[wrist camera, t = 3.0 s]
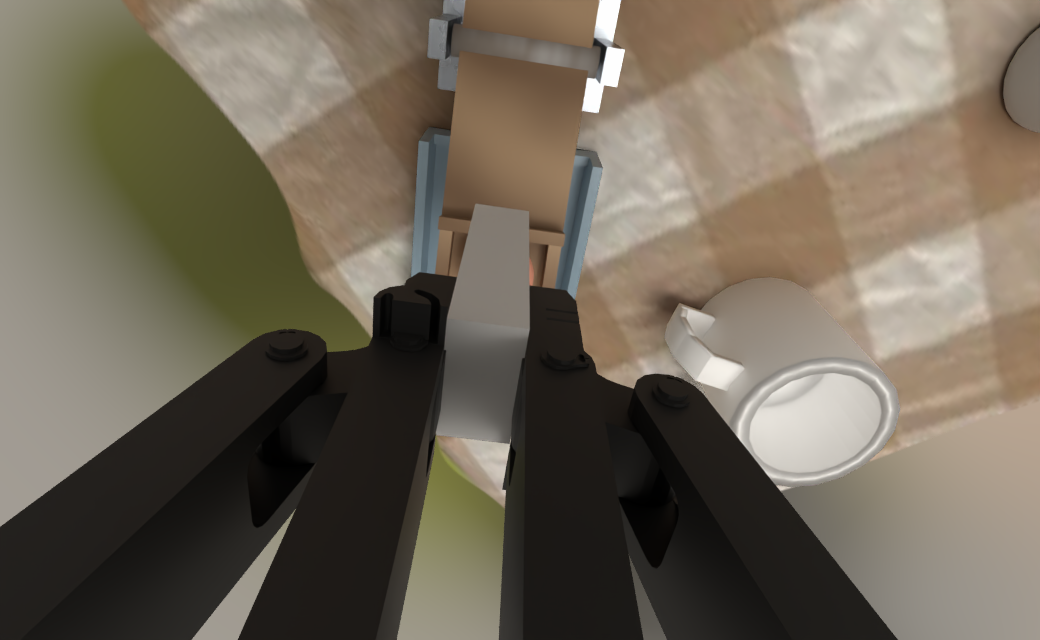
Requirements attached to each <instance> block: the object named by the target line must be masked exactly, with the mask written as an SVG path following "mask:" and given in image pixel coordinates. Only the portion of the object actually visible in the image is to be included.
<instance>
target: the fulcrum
mask: <svg viewBox="0 0 1040 640" xmlns="http://www.w3.org/2000/svg"><path fill="white" fill-rule="evenodd" d="M620 2H621V0H600V1H599V7H598V14H597V20H596V26H595V33H594V39H593V45H592V46H598V47H600V48H601V51H600V60H599V65H598V70H597V74H596V77H595V79H592V78H587V83H586V90H585V96H584V102H583V109H582V111H587V112H594V113H598V112H599V107H600V102H601V97H602V92H603V87H604V85H606V86H612V87H617V84H618V79H619V75H620V70H621V65H622V61H623V56H624V51H625V50H624V49H623V48H621V47H620V46H618V45H616V44H615V43H613V37H614V32H615V27H616V22H617V17H618V12H619V7H620ZM464 8H465V0H444V3H443V15H440V16H437V17H433V18H430V22H429V38H428V55H427V58H434V59H440V61H439V75H438V89H444V90H451V91H455V89H456V80H457V71H458V62H459V58H458V57H452V56H451V41H452V32H453V26H454V24H461V25H463V17H464Z"/></svg>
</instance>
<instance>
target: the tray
mask: <svg viewBox="0 0 1040 640" xmlns="http://www.w3.org/2000/svg"><path fill="white" fill-rule="evenodd" d="M450 135H451V130H447V129H440V128H433V127H429V128H428V129H427V130H426V132H425V133H424V134H423V136H422V137H421V138H420V140H419V146H418V163H417V181H416V198H415V216H414V233H413V251H412V268H411V277H412V276H414V275H415V274H417V273H419V272H423V273H430V274H435V268H436V259H437V250H438V241H439V232H440V230H439V229H438V221H439V216H441V215H442V208H443V199H444V190H445V181H446V171H447V162H448V153H449V144H450ZM602 170H603V167H602V165H601V162H600V160H599V157H598V155H597V152H593V151H587V150H580V149H576V153H575V159H574V166H573V172H572V178H571V185H570V191H569V197H568V204H567V210H566V216H565V223H564V229H563V233H564V234H565V240H564V246H563V247H561V252H560V258H559V265H558V271H557V277H556V283H555V289H561V290H566V291H567V292H568V293H569V294H570V295H571V296H572V297H573V298H574V300H575V296H576V292H577V287H578V282H579V278H580V273H581V268H582V263H583V259H584V254H585V249H586V245H587V240H588V235H589V231H590V226H591V221H592V217H593V212H594V207H595V203H596V198H597V193H598V189H599V184H600V179H601V174H602Z"/></svg>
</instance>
